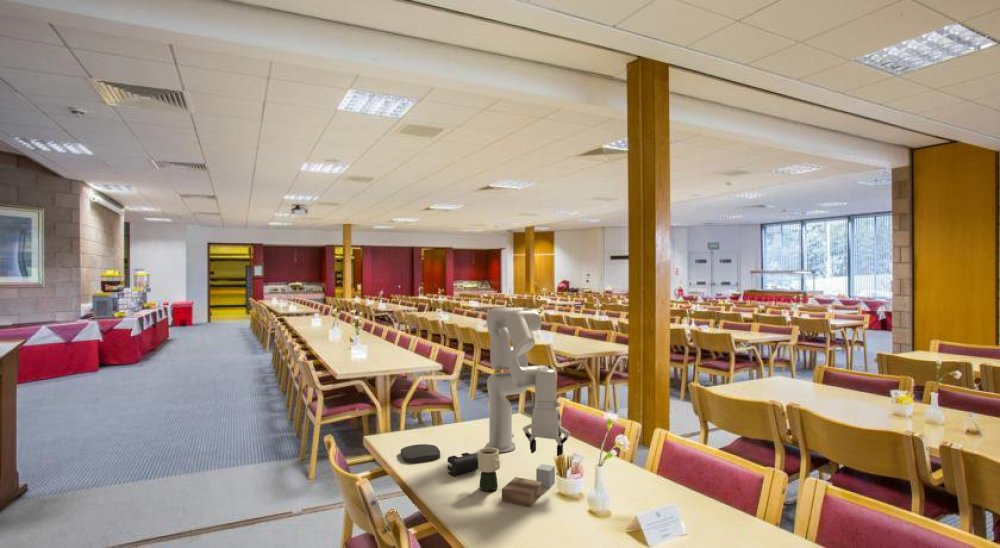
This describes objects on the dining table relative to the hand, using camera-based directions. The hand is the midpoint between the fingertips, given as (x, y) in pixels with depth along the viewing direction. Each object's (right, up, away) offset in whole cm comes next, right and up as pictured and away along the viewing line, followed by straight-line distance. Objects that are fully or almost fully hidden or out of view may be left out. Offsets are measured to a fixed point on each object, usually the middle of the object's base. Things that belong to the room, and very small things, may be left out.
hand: (546, 453), depth 184 cm
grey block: (0, -11, +1) cm, 11 cm away
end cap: (-30, -11, +10) cm, 34 cm away
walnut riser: (-9, -11, -10) cm, 17 cm away
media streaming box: (-49, -11, +29) cm, 58 cm away
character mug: (-20, -11, -3) cm, 23 cm away
